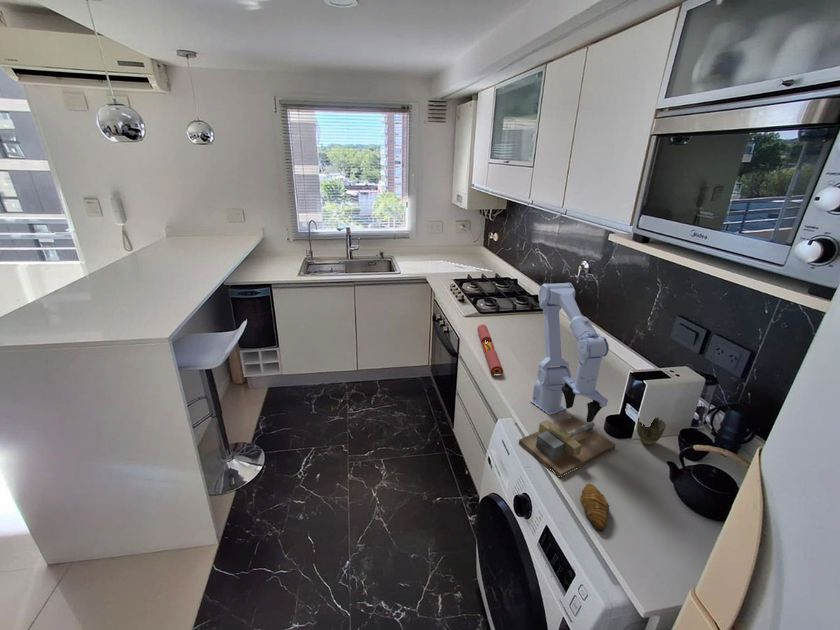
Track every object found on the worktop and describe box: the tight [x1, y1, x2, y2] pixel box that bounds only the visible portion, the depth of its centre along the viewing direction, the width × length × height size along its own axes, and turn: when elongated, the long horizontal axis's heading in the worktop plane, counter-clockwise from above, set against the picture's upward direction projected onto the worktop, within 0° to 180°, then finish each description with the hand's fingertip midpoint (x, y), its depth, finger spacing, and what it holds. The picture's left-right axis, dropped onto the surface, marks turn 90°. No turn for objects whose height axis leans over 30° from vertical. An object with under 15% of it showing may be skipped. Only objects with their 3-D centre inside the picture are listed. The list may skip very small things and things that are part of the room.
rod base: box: [518, 415, 617, 478], centre depth 118 cm, size 16×24×6 cm, turn 120°
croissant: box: [579, 483, 610, 532], centre depth 96 cm, size 14×7×5 cm, turn 169°
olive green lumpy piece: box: [636, 416, 667, 446], centre depth 119 cm, size 8×7×8 cm
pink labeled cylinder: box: [476, 323, 504, 376], centre depth 175 cm, size 42×5×5 cm, turn 0°
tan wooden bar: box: [538, 419, 582, 457], centre depth 115 cm, size 13×3×5 cm, turn 30°
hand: (579, 414), depth 118 cm, fingers open, 7 cm apart
